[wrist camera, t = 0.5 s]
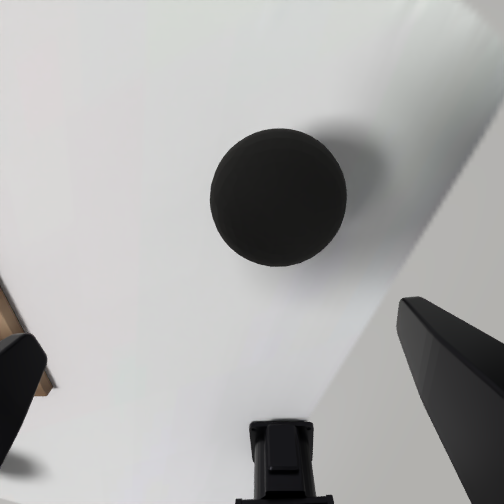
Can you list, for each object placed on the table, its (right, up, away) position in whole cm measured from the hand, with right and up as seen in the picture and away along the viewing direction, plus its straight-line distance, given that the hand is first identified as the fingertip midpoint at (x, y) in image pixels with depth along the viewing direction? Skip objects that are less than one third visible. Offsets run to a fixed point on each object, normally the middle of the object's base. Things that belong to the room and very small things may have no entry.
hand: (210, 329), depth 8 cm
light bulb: (+2, +8, +13) cm, 15 cm away
